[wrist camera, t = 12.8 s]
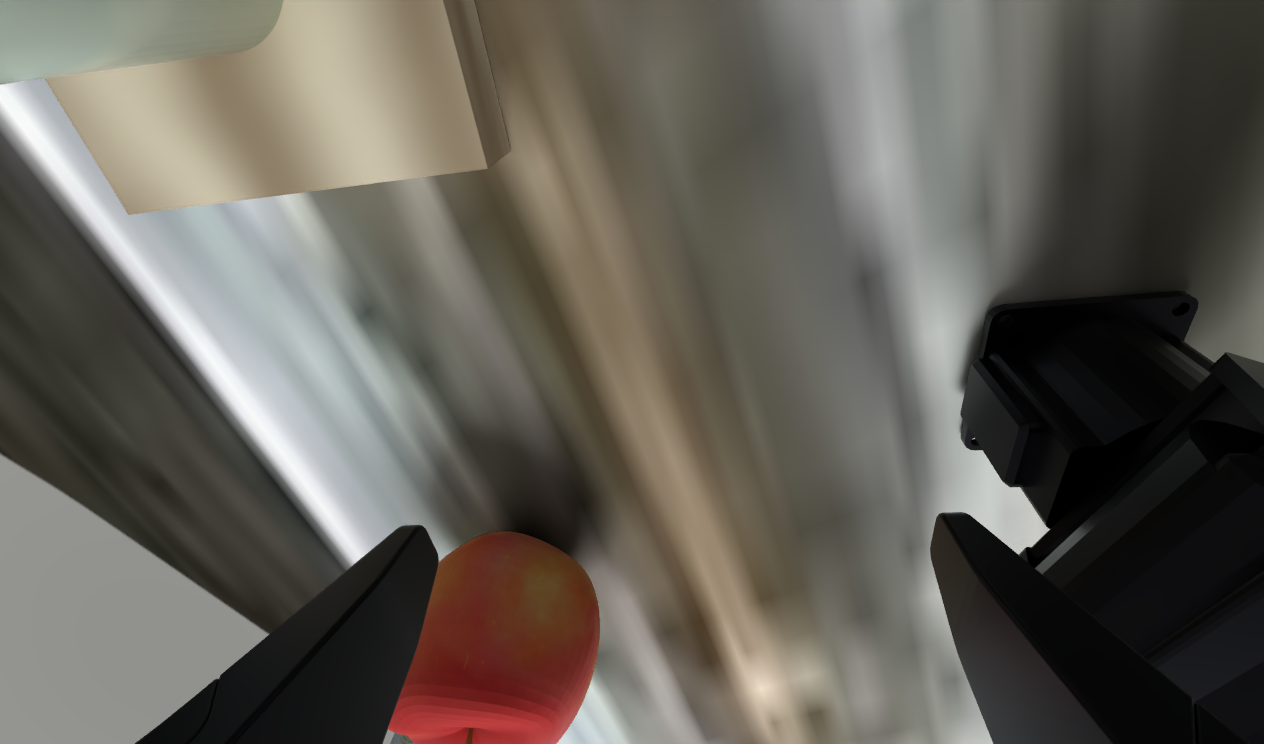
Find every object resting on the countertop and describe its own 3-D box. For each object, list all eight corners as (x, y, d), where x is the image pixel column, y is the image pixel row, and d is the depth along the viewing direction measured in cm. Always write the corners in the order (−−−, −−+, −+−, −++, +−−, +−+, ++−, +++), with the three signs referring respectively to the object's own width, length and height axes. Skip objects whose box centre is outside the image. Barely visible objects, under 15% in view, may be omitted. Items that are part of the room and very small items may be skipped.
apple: (405, 531, 31) (296, 726, 23) (532, 462, 27) (457, 665, 19) (523, 625, 35) (467, 822, 26) (649, 575, 31) (630, 787, 23)
